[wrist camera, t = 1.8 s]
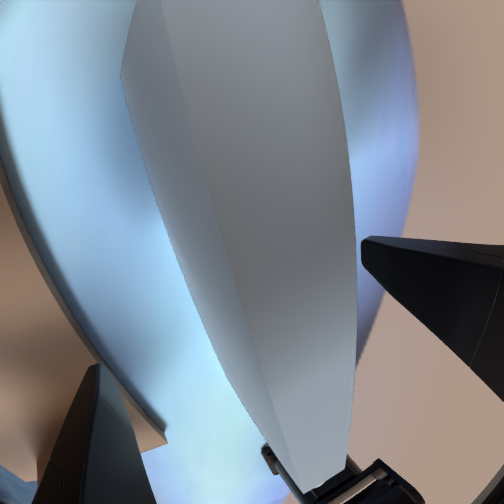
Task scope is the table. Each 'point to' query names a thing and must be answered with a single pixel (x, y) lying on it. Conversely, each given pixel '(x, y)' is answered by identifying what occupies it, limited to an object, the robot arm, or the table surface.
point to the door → (256, 205)
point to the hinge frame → (41, 354)
